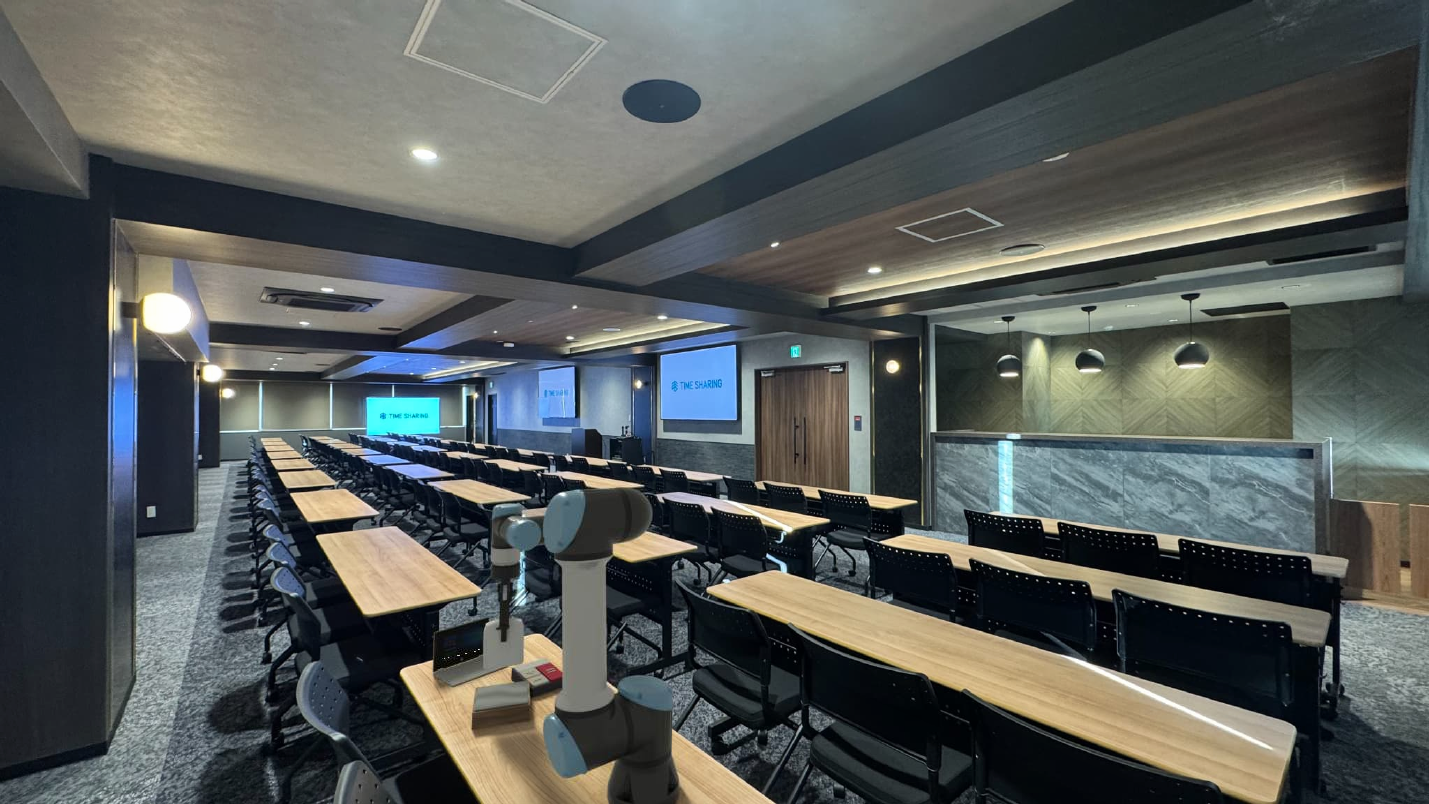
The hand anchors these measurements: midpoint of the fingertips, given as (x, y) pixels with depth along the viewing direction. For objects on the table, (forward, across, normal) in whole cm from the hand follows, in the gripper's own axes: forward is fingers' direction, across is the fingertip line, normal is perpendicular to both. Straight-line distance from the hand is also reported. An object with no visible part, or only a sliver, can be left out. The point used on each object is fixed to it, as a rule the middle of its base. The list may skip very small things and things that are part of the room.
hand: (503, 649), depth 151 cm
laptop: (+17, +28, +10) cm, 34 cm away
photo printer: (+4, 0, 0) cm, 4 cm away
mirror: (+16, 0, 0) cm, 16 cm away
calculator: (+17, +14, -10) cm, 24 cm away
